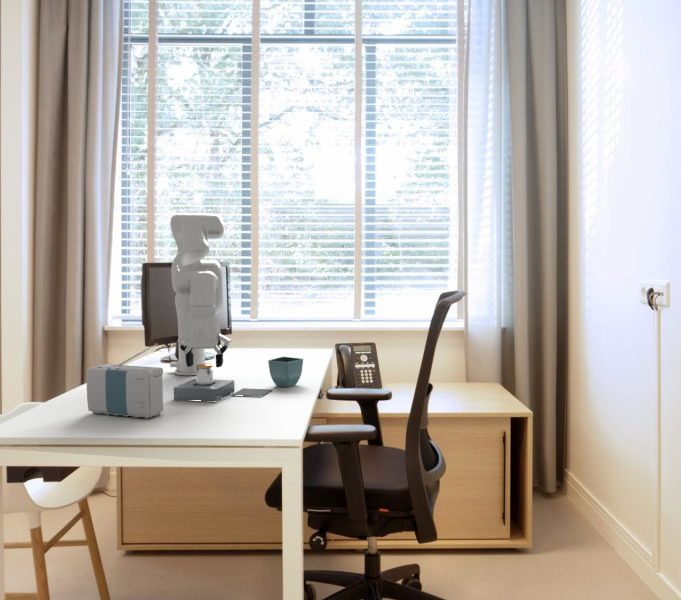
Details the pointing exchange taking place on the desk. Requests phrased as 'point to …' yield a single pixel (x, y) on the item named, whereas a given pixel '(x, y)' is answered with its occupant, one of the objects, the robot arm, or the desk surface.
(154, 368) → the grey teal equipment box
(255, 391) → the mat
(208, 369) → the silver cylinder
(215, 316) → the robot arm
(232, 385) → the housing
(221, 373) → the desk surface
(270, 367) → the flower pot
